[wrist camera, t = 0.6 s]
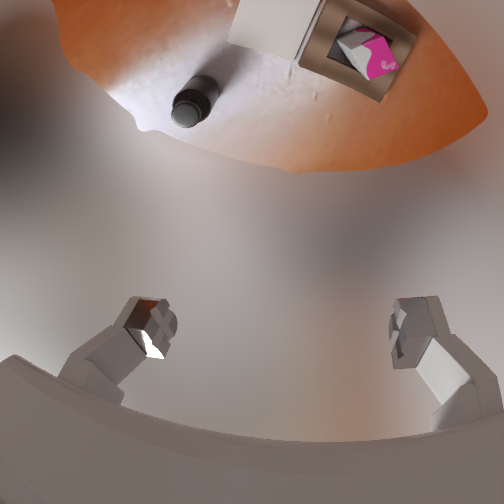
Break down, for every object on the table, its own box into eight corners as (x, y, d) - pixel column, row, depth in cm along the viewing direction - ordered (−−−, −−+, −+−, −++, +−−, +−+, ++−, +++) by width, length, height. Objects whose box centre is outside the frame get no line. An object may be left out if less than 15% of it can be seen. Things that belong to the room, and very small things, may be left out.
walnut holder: (330, -9, 27) (333, -10, 25) (410, 34, 30) (417, 37, 28) (298, 62, 39) (299, 66, 37) (375, 97, 42) (379, 102, 40)
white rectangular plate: (250, -24, 26) (249, -24, 26) (320, -3, 28) (321, -3, 28) (227, 42, 37) (226, 42, 37) (292, 60, 39) (293, 61, 39)
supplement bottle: (179, 93, 46) (157, 119, 39) (198, 68, 41) (178, 88, 34) (207, 111, 49) (191, 140, 42) (227, 87, 45) (214, 111, 37)
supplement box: (350, 64, 38) (367, 81, 31) (334, 37, 34) (348, 48, 27) (377, 53, 35) (400, 68, 28) (361, 26, 31) (383, 34, 24)
